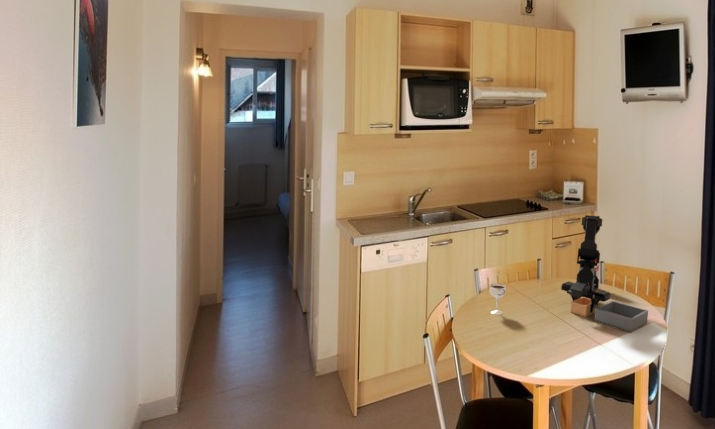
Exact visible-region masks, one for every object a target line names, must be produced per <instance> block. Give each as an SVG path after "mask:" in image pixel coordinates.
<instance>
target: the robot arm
mask: <svg viewBox="0 0 715 429" xmlns="http://www.w3.org/2000/svg"><path fill="white" fill-rule="evenodd" d="M581 226H582V229H583V231H584V241H582V242H581V243H580V247H579V248H578V250H577V259H576V264H577V265H579V269H578V272H577V274H576V282H573V281H565V282H563V283H562V284H561V286H560V287H561V288H560V289H561V290H562V291H565V292H566V293H567V294H569V295H570V297H571V299H572V300H571V301H574V300H576V299H578V298H581V297H585V298H589V299H591V309H590V311H591V313H592V312H593V311H594V309H595V307H596V306H597V307H598V304H599V302H602V303H603V302H606V301H608V300H611V297H612V296H611V293H610V291H605V290H602V289H601V290H598V291H596V290H597V289H599V288H600V287H599V284H600V279H599V276H596V271H595V266H597V264H598V263H599V261H601V258H600V257H601V253H600V250H599V249H598V244H597V243H596V236H597V234H599V232H600V230H601V227H602V226H603V218H601V217H600V215H589V214H588V215H585V216H584V217H581ZM596 258H597V259H596ZM595 261H596V263H595ZM594 284H596V285H594ZM595 289H596V290H595Z"/></svg>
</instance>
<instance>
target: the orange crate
mask: <svg viewBox="0 0 715 429" xmlns="http://www.w3.org/2000/svg"><path fill="white" fill-rule="evenodd" d="M570 306H571V307H570V313H572V314H574V315H576V316H580V317H584V318H587V317H589V316H591V315H593V314H595V310H596V308H598V305H597V306H596V307H595V309H594V311H593V312H592V313H591V311H590V309H591V299H589V298H585V297H581V298H578V299H576V300H574V301H573V300H571V303H570Z"/></svg>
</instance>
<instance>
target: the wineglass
mask: <svg viewBox="0 0 715 429" xmlns="http://www.w3.org/2000/svg"><path fill="white" fill-rule="evenodd" d="M506 288H507V286H506V285H505V284H502V283H491V284H490V285H489V294H490V295H491V296H492V297H493V298H495V302H496V305H495V308H496V309H493V310H491V311H490V313H491V314H492V315H499V316H500V315H503V311H501V310H498V307H499V305H498V304H499V300H500V299H501V298H503V297H504V296H506V293H507V292H506V291H507V289H506Z"/></svg>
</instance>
